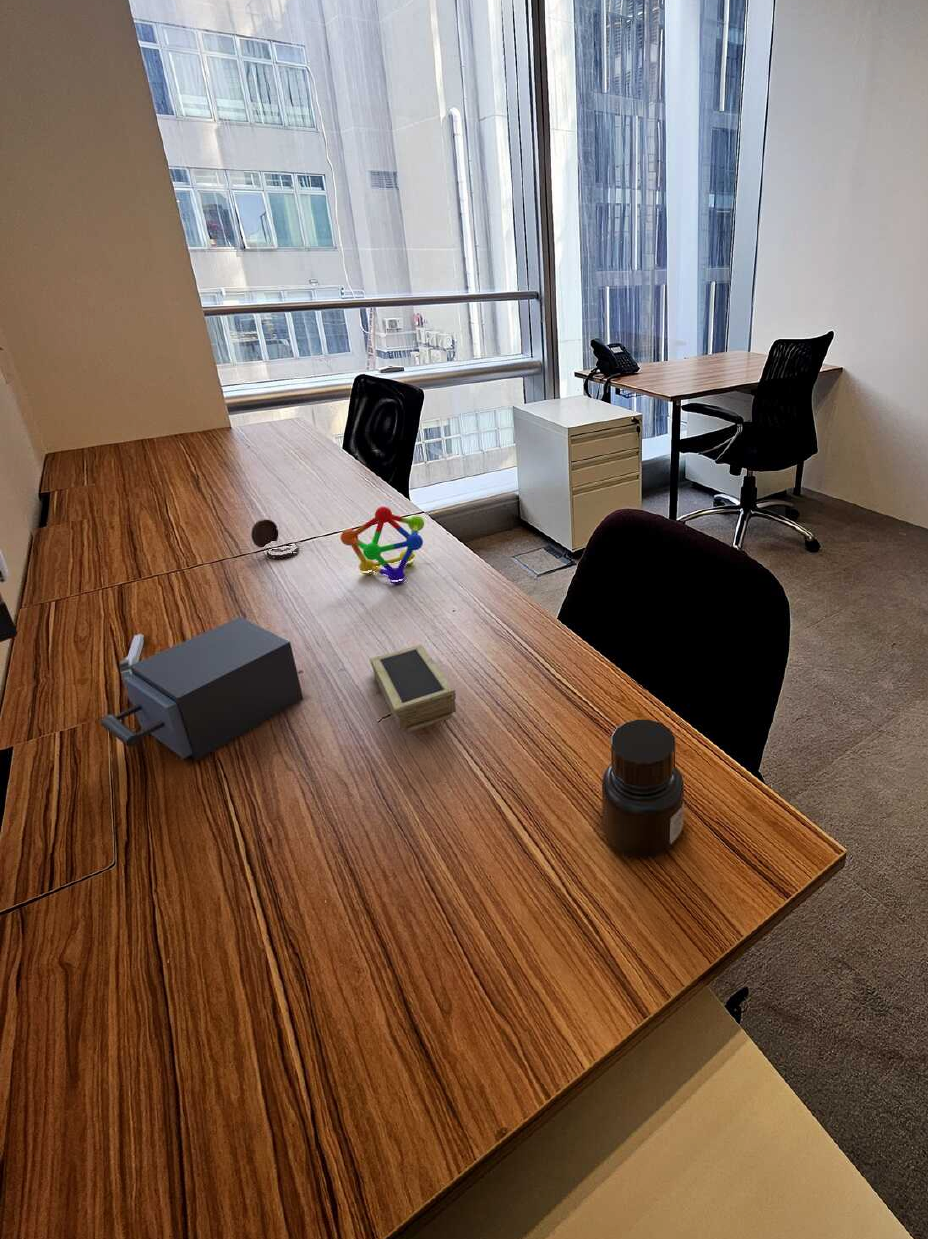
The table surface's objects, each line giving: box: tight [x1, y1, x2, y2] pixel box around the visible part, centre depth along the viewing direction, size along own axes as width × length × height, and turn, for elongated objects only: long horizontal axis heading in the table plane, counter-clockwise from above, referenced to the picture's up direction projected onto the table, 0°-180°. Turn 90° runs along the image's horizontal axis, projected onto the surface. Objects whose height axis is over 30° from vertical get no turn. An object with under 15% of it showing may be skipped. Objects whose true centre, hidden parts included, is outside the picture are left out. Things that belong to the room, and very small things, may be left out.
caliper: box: [118, 633, 145, 704], centre depth 100 cm, size 20×1×6 cm, turn 33°
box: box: [369, 644, 457, 734], centre depth 94 cm, size 8×22×5 cm, turn 32°
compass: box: [251, 519, 302, 560], centre depth 139 cm, size 8×8×7 cm
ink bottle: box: [601, 718, 685, 858], centre depth 71 cm, size 10×9×12 cm
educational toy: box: [340, 506, 425, 585], centre depth 127 cm, size 16×13×15 cm
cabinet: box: [130, 616, 304, 761], centre depth 90 cm, size 15×13×10 cm
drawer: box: [100, 674, 193, 759], centre depth 87 cm, size 18×11×8 cm, turn 147°
